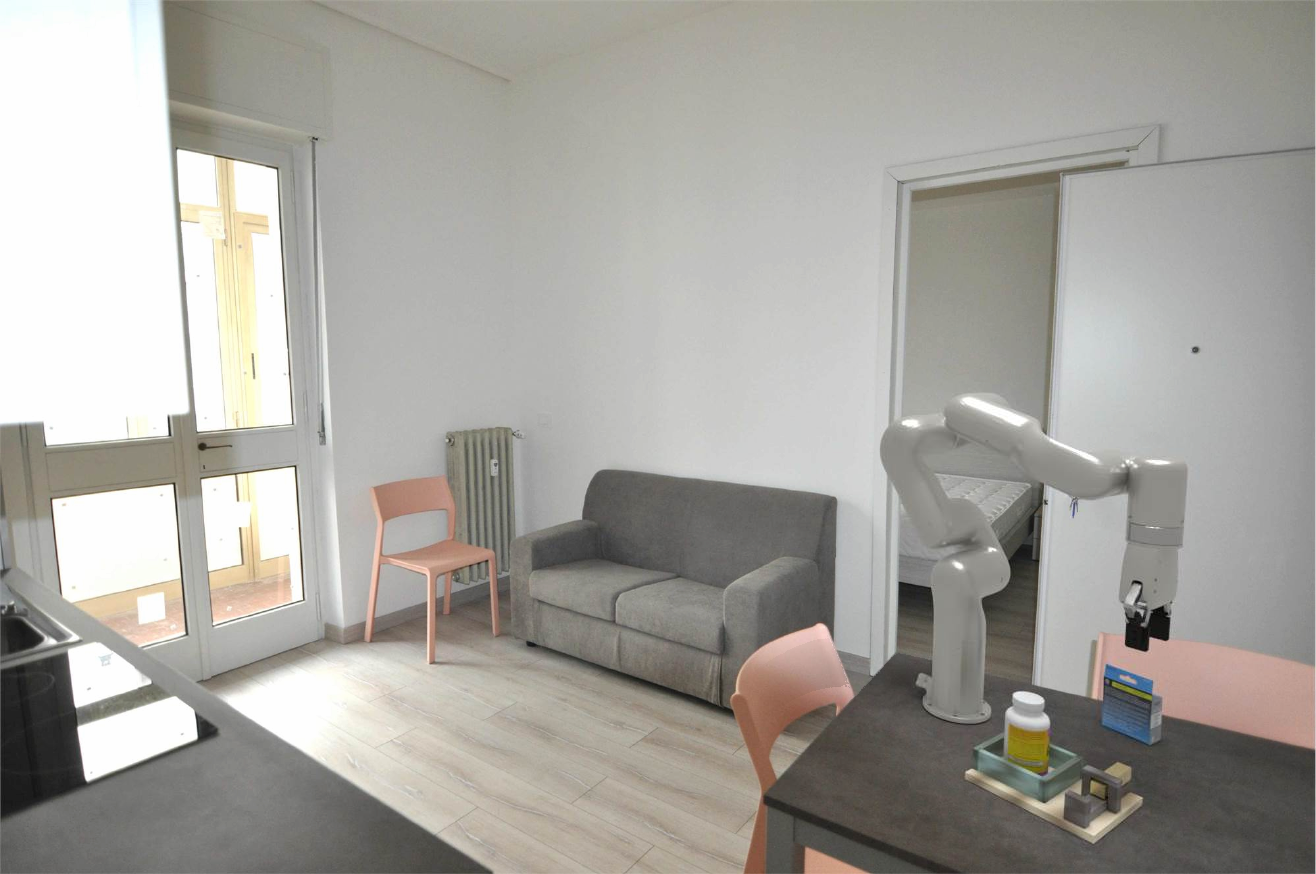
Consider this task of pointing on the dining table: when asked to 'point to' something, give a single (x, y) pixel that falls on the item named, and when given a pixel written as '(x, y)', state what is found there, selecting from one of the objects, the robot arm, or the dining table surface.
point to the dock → (1055, 789)
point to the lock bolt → (1115, 770)
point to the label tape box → (1131, 705)
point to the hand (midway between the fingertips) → (1147, 642)
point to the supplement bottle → (1027, 733)
